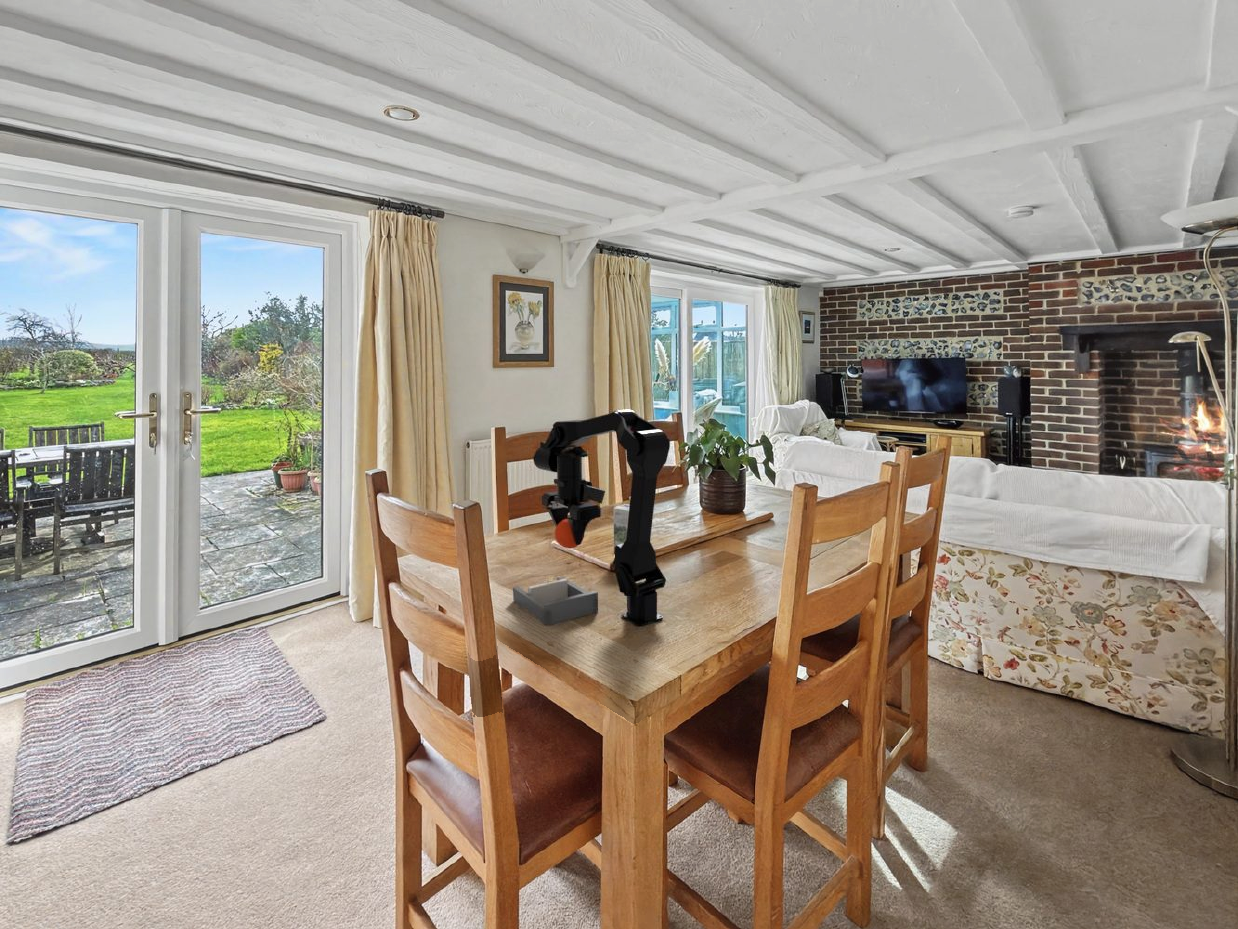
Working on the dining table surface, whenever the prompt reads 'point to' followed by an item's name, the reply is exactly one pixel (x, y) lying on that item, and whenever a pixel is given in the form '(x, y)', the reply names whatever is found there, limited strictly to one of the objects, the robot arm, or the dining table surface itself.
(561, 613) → the grey shallow tray
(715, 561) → the dining table surface
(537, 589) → the pusher paddle
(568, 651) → the dining table surface
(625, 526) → the syrup box
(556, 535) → the clementine
